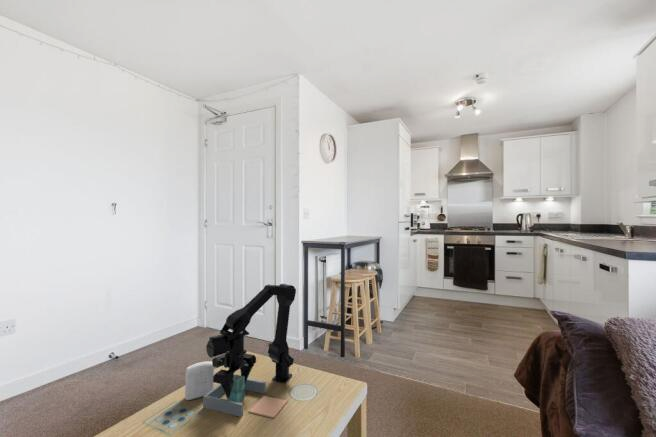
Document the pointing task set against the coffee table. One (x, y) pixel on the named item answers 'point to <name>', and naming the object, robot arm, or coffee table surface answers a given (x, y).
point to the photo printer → (199, 380)
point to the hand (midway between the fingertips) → (235, 390)
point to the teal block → (237, 389)
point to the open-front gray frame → (227, 406)
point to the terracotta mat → (268, 406)
